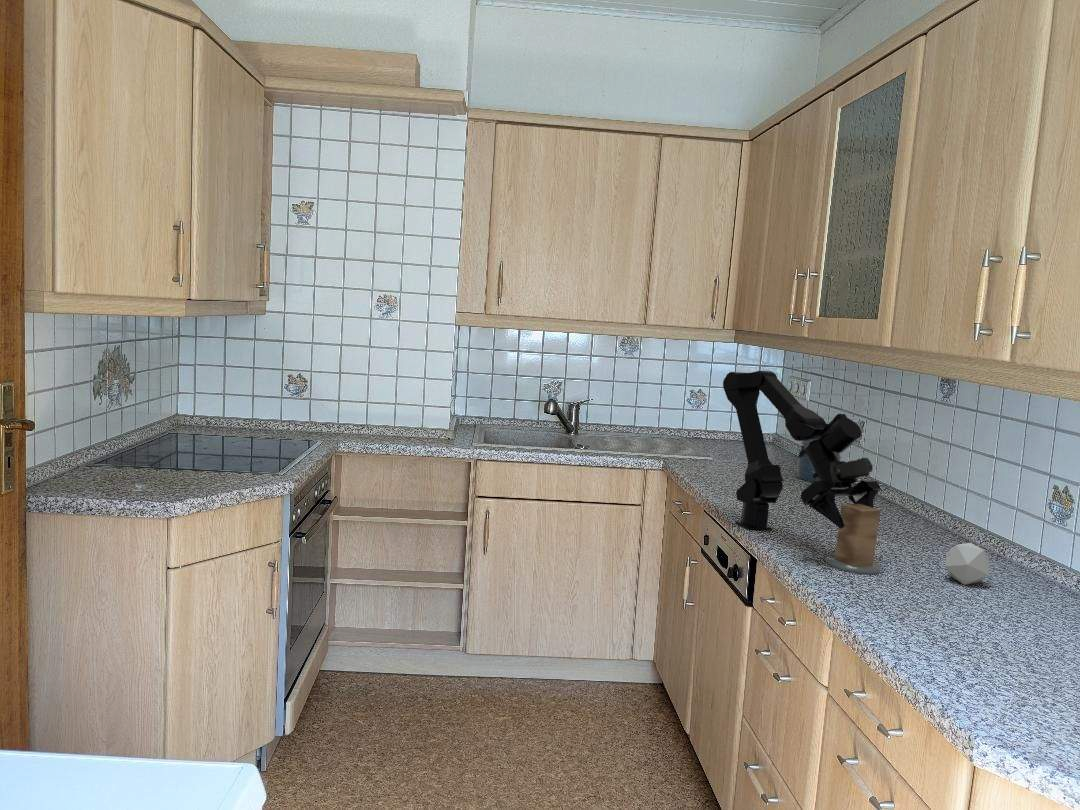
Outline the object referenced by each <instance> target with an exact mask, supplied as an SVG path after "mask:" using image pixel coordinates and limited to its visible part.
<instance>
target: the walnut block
mask: <svg viewBox="0 0 1080 810" xmlns="http://www.w3.org/2000/svg"><path fill="white" fill-rule="evenodd" d="M881 511H882V510H880V509H877V508H875V507H874V508H872V507H869V506H865V505H862V504H854V503H850V504H847V503H846V504H841V509H840V515H841V517H842V520H843V523H844V527H843V528H842V529H840V528H839V527H838V531H837V538H836V546H835V552H834V555H835V558H834V559H835V560H837V561H840V562H842V563H845V564H847V565H850V566H852V567H864V566H873V562H875V561H874V560H875V554H876V547H877V539H878V533H879V532H878V531H879V526H880V517H881Z"/></svg>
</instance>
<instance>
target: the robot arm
mask: <svg viewBox="0 0 1080 810" xmlns="http://www.w3.org/2000/svg"><path fill="white" fill-rule="evenodd" d="M722 387H723V391H724V393H725V396H726V399H727V400H728V402H729V403H730V404H731V405H732V406H733V407H734V408H735V411H736V415H737V421H738V424H739V427H740V428H739V429H740V433H741V437H742V441H743V446H744V450H745V451H744V452H745V455H746V459H747V468H746V469H745V472H744V483H743V485H741V486H740V487H739V488H738V489H737V490H736V492H735V494H736V500H737V501H739V502H742V509H741V510H742V511H741V519H740V520H735V524H737V525H739V526H742V527H744V528H746V529H747V530H773V529H772V528H773V527H771V526H769V525H768V521H769V514H770V513H769V512H770V511H769V510H770V509H769V508H770V504H776V503H777V501H778V498H779V496H780V494H781V492H782V491H783V489H784V488H783V487H784V485H783V484H784V483H783V482H784V477H783V476H782V473H781V469H782V468H781V467H780V465H779V464H774V463H772V461H770V459H769V454H768V451H767V445H766V442H765V437H764V434H763V429H762V425H761V421H760V417H759V412H758V408H757V403H758V399H759V397H760V392H761V393H762V394H764V396H765V397H766V398H767V399H768V401H769V402H770V403H771V405H773V406H774V407H775V409H776V410H777V412H779V414H781V416H782V417H783V419H784V422H785V423H784V424H785V428H786V430H787V431H788V433H789V434H790V436H791V437H792V439H793V440H794V441H798V442H801V441H811V442H810V443H809V444H808V445H807V446H801V447H800V448H801V450H800V451H799V452H798V458H799V459H800V458H809V460H810V462H811V464H812V466H813V468H814V470H815V472H816V473H815V474H813V477H814V479H819V480H820V481H814V482H811V483H810V484H809V485H807V487H806V488H804V489H803V490H802V491H801V492H800V499H801V502H802V504H803V505H804V506H808V508H810V509H813V510H815V511H816V512H817V513H819V514H820V515H822V516H823V517H824V518H826V519H827V520H829V521H830V522H831V523H832V524H833V525H835V526H836V527H837V528H838V529H839V528H840V529H842V528H843V527H844V523H843V520H842V517H841V515H840V514H841V512H840V510H839V509H838V506H837V504H836V497H848V499H849V500H850V502H852V504H862V505H865V506H869V507H872V508H875V507H874V500H875V497H877V495H878V494H879V492H880V491H881V490H882V488H881V486H880V484H879V482H878V481H877V480H873V479H867V480H866V479H865V480H864V479H862V480H860V481H858V478H861V477H864V476H865V477H867V476H870V475H871V474H870V473H871V472H873V469H874V468H873V467H874V466H873V464H872V462H871V461H870V459H869V458H868V457H861V458H857V459H855V460H849V461H845V460H843V461H841V459H840V460H839V459H838V457H837V455H836V453H835V452H838V453H840V454H841V453H844V451H846V450H847V449H848V448H850V446H852V445H853V444H854V443H856V442H857V441H858V440H859V439H860V438H861V437H862V435H863V434H862V430H861V428H860V425H859V424H857V423H856V422H855V421H853V420H852V419H850V418H849V417H847V415H846V414H845V413H837V414H836V415H834V417H833V419H832V420H831V421H829V422H828V423H827V422H826V421H825V419H824V418H823V417H822V416H820V415H819V414H818V413H816V412H815V411H814V410H812V409H810V408H807V407H805V406H803V405H802V404H801V403H800V402H799V401H798V399H797V398H796V397H795V396H794V395H793V394H792V393H791V392H790V391H789V390H788V389H787V387H786V386H785V385H784V384H783V383H782V382H781V381H780V379H778V377H777V374H776V373H775V372H774V371H771V370H756V371H753V372H738V371H730V372H728V373H727V374H726V375H725V377H724V378H723V381H722ZM857 481H858V483H857V484H855V483H856V482H857ZM852 484H855V485H854V486H852Z"/></svg>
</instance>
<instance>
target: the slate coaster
mask: <svg viewBox="0 0 1080 810" xmlns="http://www.w3.org/2000/svg"><path fill="white" fill-rule="evenodd" d="M834 558H835V554H830V555H828V556H826V559H825V563H826V564H827V565H828V566H830V567H831V566H832V568H833V569H836V568H837V569H836V570H839V569H840V571H842V570H843V571H842V572H846V571H847V572H848V573H851V572H853V573H852V574H857V573H858V575H867V574H871V575H877V573H878V574H880V573H881V572H882V571H881V569H882V567H881V565H880V564H879V563H877V562H875V561H874V562H873V566H864V567H852V566H850V565H847V564H845V563H842V562H840V561H837V560H835V559H834ZM847 572H846V573H847Z"/></svg>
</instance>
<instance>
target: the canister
mask: <svg viewBox="0 0 1080 810" xmlns="http://www.w3.org/2000/svg"><path fill="white" fill-rule="evenodd" d="M810 442H811V441H800V443H801V445H802V446H807V445H808V444H809V443H810ZM802 446H801V447H802ZM835 453H836V455H837V457H838V459H839V460H840V461H841V459H842V456H841V453H838V452H835ZM815 473H816V472H815V470H814V468H813V466H812V464H811V462H810V460H809V458H799V459H798V468H797V471H796V474H797V478H799V479H800V480H803V481H807V482H811V483H812V482H814V481H820V480H819V479H814V477H813V474H815Z"/></svg>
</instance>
